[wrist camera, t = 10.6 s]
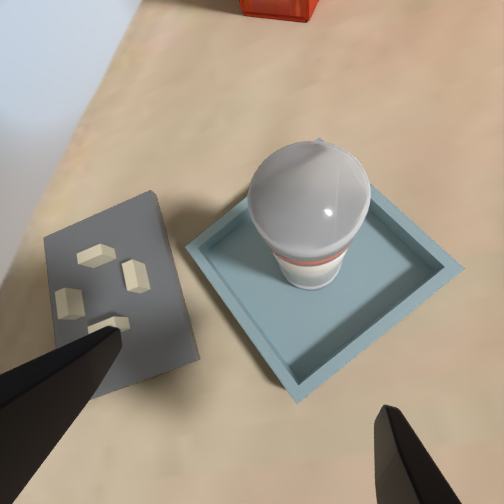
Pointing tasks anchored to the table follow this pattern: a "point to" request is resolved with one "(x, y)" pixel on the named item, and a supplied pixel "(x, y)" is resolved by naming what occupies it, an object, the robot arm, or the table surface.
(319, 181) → the white cylinder
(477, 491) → the table surface
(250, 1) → the file binder
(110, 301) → the board
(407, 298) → the tray
